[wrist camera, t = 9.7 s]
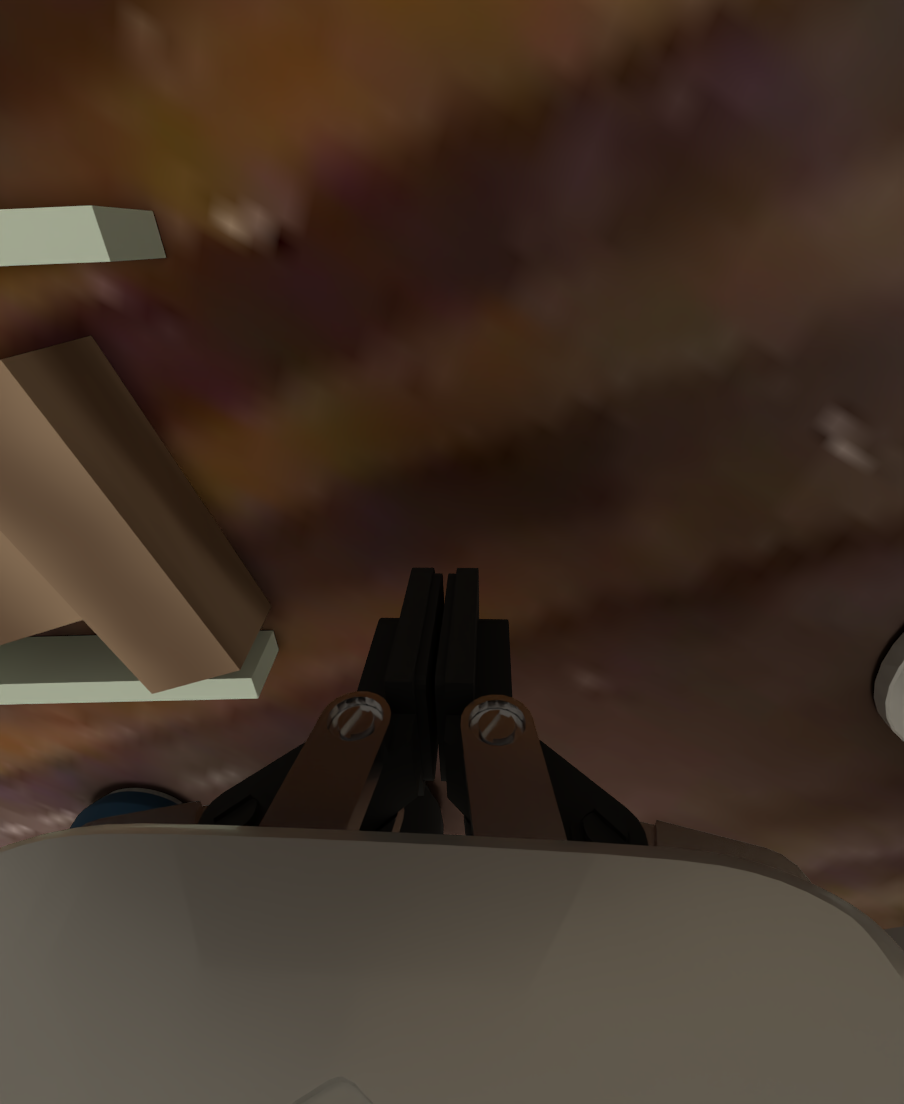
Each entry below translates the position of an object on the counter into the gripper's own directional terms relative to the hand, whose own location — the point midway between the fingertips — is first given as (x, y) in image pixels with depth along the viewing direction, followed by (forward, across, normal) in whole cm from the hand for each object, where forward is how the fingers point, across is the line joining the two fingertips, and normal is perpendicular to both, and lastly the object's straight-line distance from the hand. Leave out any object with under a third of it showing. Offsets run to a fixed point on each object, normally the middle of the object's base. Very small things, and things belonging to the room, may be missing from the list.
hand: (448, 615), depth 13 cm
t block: (+7, +16, +1) cm, 17 cm away
